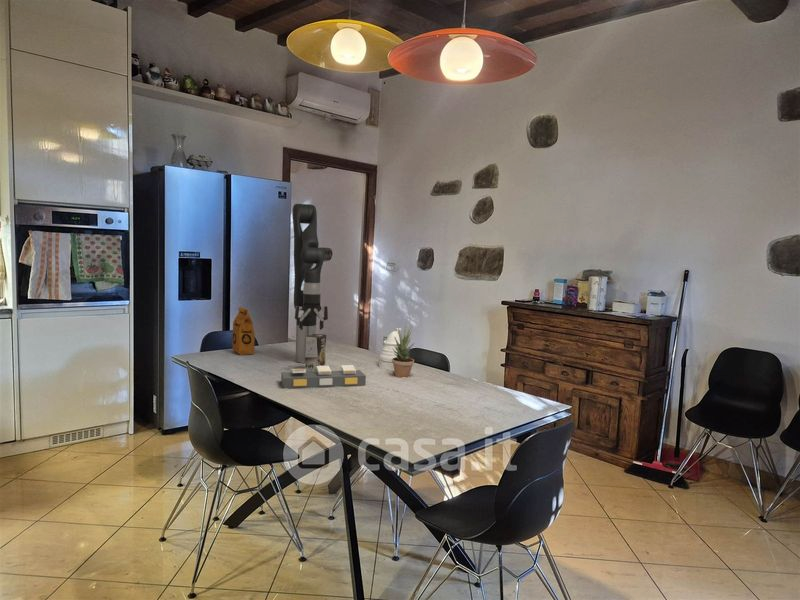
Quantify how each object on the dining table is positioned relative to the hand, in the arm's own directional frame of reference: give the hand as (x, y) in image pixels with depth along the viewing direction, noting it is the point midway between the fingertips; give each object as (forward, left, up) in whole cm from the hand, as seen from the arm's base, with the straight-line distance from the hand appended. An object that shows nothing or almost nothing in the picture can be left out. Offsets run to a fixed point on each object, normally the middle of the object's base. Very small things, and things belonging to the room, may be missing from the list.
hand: (311, 329), depth 249 cm
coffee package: (-35, -27, -17) cm, 48 cm away
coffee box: (+9, +1, -17) cm, 19 cm away
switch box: (+29, +1, -17) cm, 33 cm away
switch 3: (+29, +11, -12) cm, 33 cm away
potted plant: (+20, +37, -17) cm, 45 cm away
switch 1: (+29, -9, -12) cm, 32 cm away
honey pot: (+3, +38, -18) cm, 42 cm away
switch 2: (+29, +1, -12) cm, 31 cm away
